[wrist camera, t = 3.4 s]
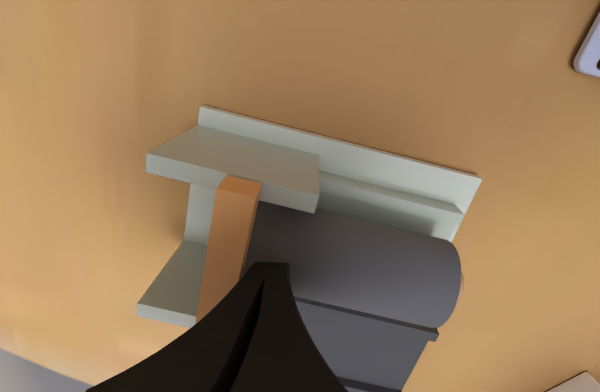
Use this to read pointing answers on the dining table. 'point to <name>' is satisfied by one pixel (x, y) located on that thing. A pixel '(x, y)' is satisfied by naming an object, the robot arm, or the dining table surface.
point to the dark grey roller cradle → (365, 345)
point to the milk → (579, 384)
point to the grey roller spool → (360, 263)
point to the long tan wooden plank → (227, 240)
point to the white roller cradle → (291, 191)
